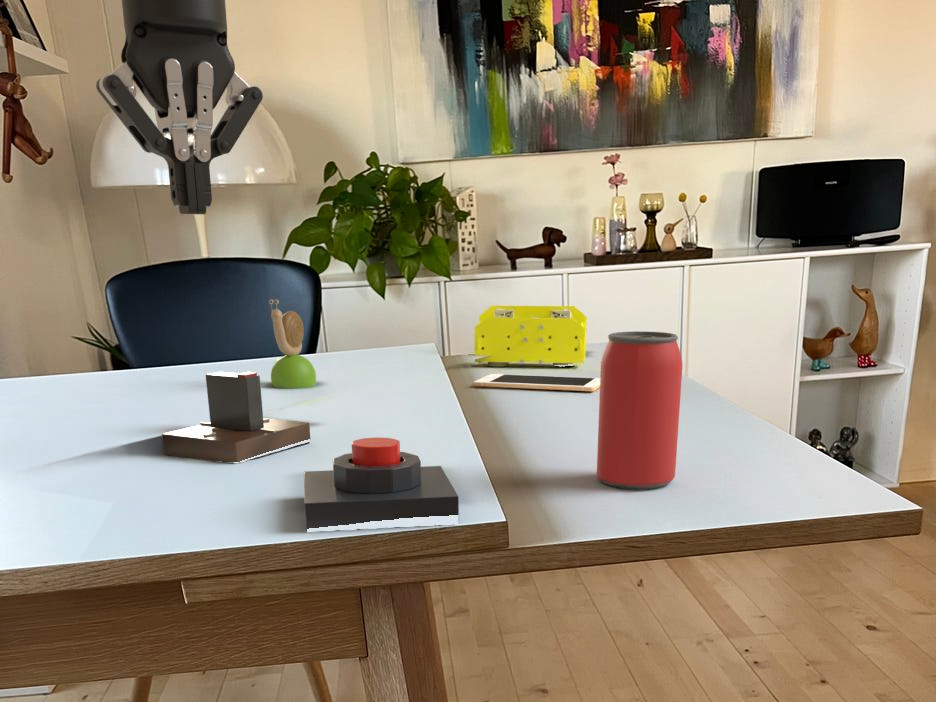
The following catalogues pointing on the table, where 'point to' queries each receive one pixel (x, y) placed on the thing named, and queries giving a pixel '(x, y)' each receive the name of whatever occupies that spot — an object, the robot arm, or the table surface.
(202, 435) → the dial panel
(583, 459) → the table surface
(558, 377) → the cell phone
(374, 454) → the button
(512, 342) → the yellow toy chassis
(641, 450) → the beer can
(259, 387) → the dark grey rectangular block
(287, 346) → the snail figurine
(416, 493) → the button block
